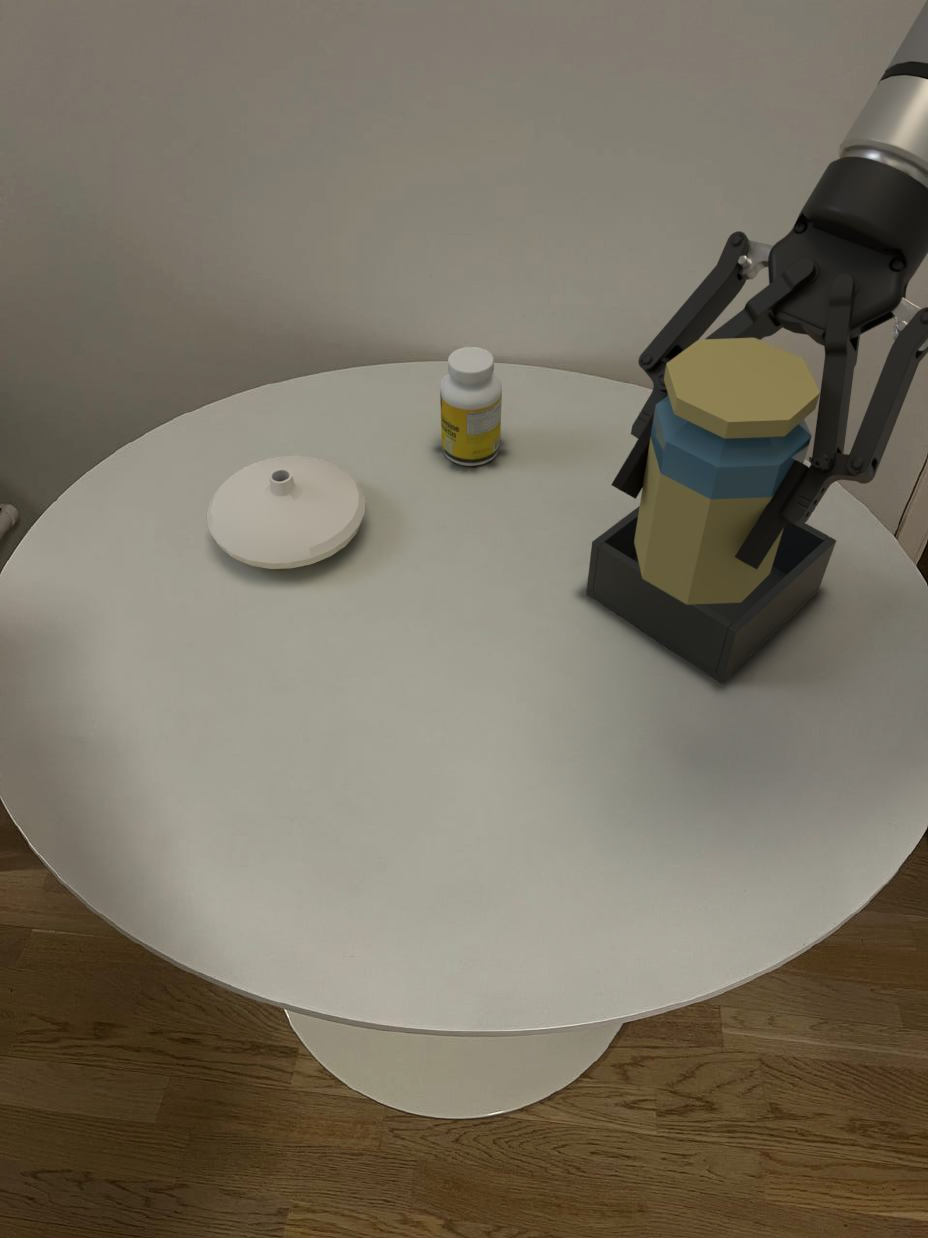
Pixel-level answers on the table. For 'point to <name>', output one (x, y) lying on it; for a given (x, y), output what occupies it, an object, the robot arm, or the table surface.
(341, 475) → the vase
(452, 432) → the pill bottle
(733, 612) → the bin
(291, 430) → the table surface
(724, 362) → the jar
